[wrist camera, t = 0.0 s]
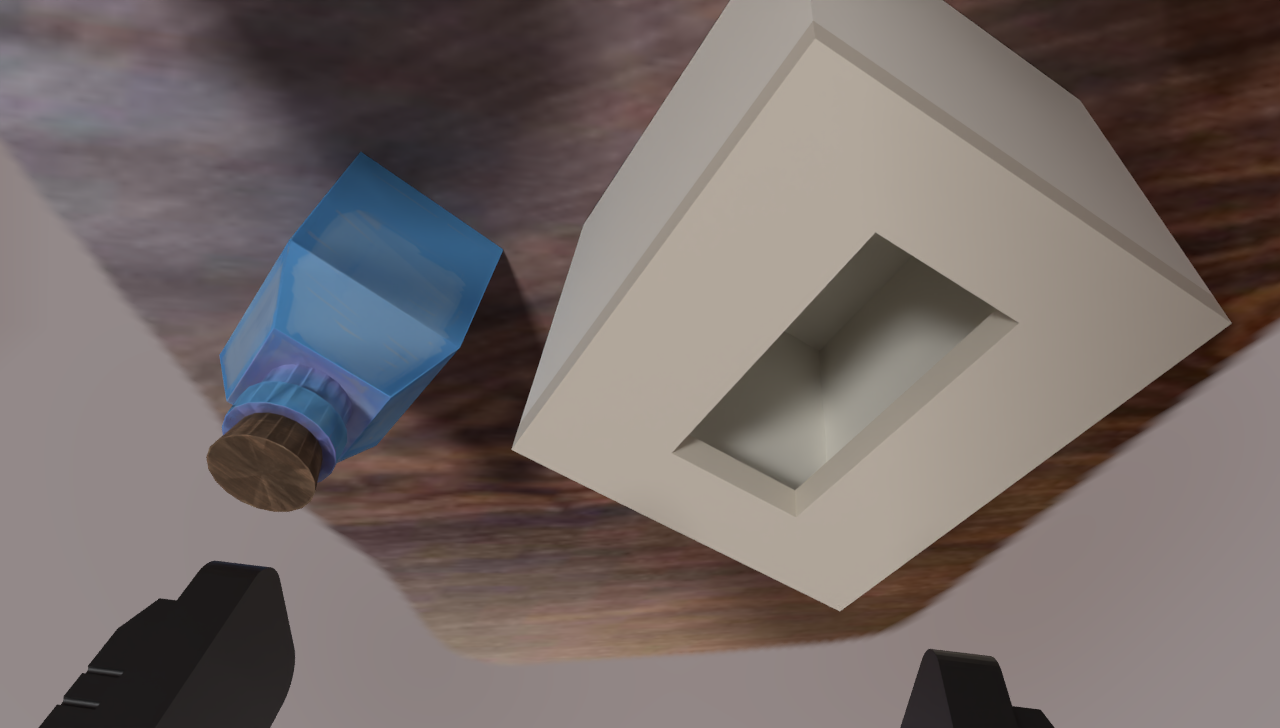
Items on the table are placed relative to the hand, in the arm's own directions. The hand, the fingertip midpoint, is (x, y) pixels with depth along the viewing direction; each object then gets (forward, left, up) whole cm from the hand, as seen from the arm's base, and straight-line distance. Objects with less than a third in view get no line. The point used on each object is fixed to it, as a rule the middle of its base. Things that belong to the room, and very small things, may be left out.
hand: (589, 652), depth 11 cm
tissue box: (+2, +6, -22) cm, 23 cm away
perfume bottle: (+14, -5, -23) cm, 27 cm away
